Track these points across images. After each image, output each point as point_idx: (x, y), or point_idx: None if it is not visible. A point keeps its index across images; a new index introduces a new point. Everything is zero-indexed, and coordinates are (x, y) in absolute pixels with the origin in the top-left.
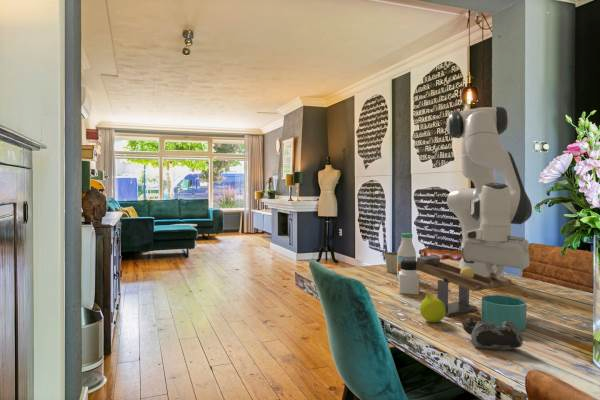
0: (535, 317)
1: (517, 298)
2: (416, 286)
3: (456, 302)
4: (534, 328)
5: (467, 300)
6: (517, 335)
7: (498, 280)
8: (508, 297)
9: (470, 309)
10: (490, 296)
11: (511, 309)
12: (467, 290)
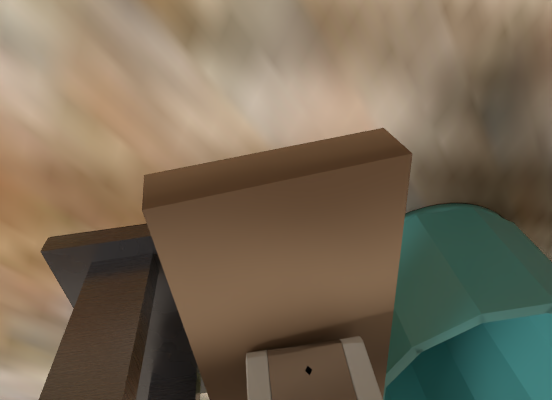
0: (502, 11)
1: (541, 308)
2: None
3: (62, 270)
4: (546, 202)
5: (152, 293)
6: None
7: (348, 335)
8: (476, 320)
9: None
10: (386, 382)
11: (541, 393)
12: (141, 354)
